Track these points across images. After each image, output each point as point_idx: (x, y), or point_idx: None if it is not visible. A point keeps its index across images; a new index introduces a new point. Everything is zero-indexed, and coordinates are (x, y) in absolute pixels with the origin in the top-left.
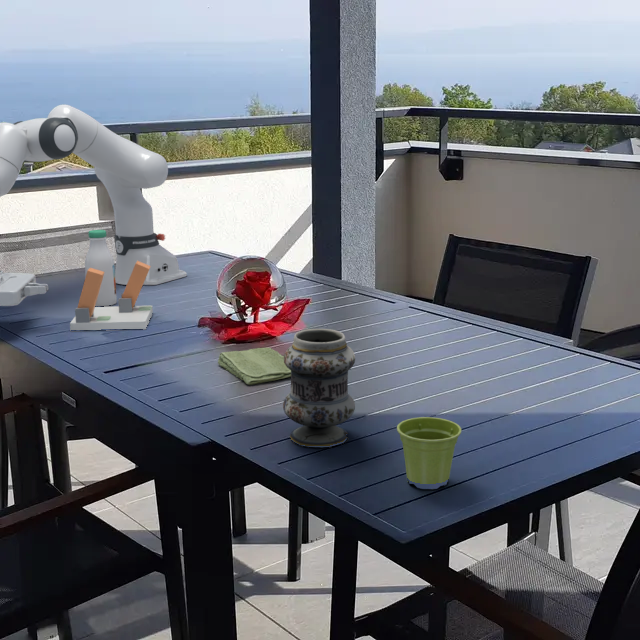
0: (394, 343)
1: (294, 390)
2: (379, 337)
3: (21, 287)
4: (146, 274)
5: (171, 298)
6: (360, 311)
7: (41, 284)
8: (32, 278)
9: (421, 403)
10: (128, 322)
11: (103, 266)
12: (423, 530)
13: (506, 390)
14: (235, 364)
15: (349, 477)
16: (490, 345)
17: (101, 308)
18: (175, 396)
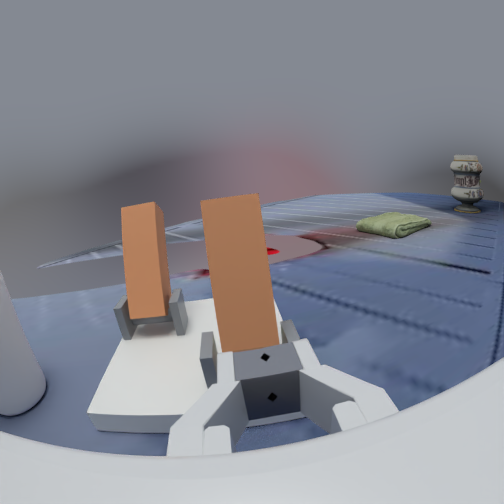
0: (297, 214)
1: (479, 183)
2: (282, 218)
3: (486, 368)
4: (163, 225)
5: (56, 317)
6: (200, 230)
7: (233, 372)
8: (31, 441)
9: (402, 204)
10: (276, 306)
11: (2, 284)
12: (495, 201)
13: (367, 199)
14: (415, 221)
15: (486, 206)
16: (292, 205)
17: (124, 370)
18: (481, 236)
